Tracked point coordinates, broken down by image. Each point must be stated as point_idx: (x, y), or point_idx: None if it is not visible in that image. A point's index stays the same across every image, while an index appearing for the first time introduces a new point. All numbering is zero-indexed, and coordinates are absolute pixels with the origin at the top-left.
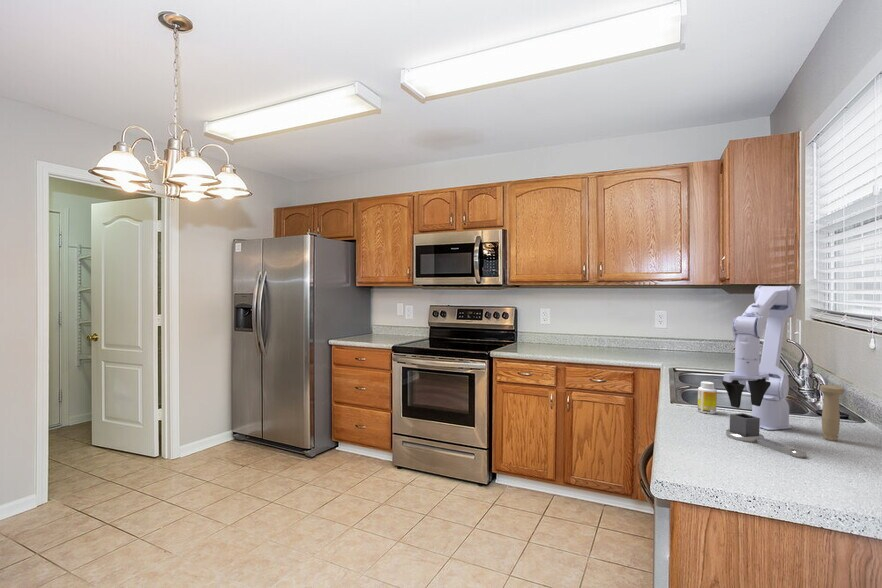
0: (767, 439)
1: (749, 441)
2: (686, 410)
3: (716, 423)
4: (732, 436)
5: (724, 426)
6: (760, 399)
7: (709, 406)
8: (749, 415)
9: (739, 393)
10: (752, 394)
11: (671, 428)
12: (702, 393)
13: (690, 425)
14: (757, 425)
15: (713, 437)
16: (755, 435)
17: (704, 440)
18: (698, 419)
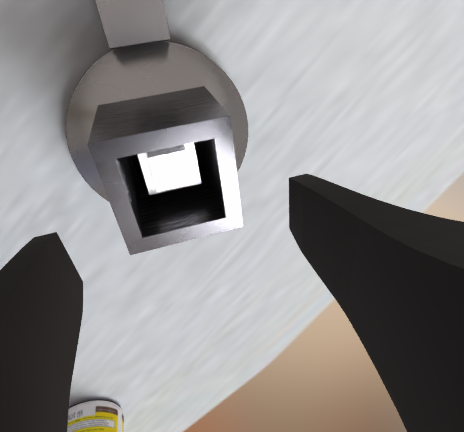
0: (103, 13)
1: (200, 53)
2: (158, 412)
3: (150, 307)
4: (246, 121)
5: (143, 277)
6: (25, 271)
7: (96, 429)
8: (124, 208)
9: (426, 222)
10: (63, 366)
11: None
12: None
13: (278, 273)
14: (113, 120)
15: (315, 137)
16: (128, 100)
17: (388, 98)
18: (190, 338)
